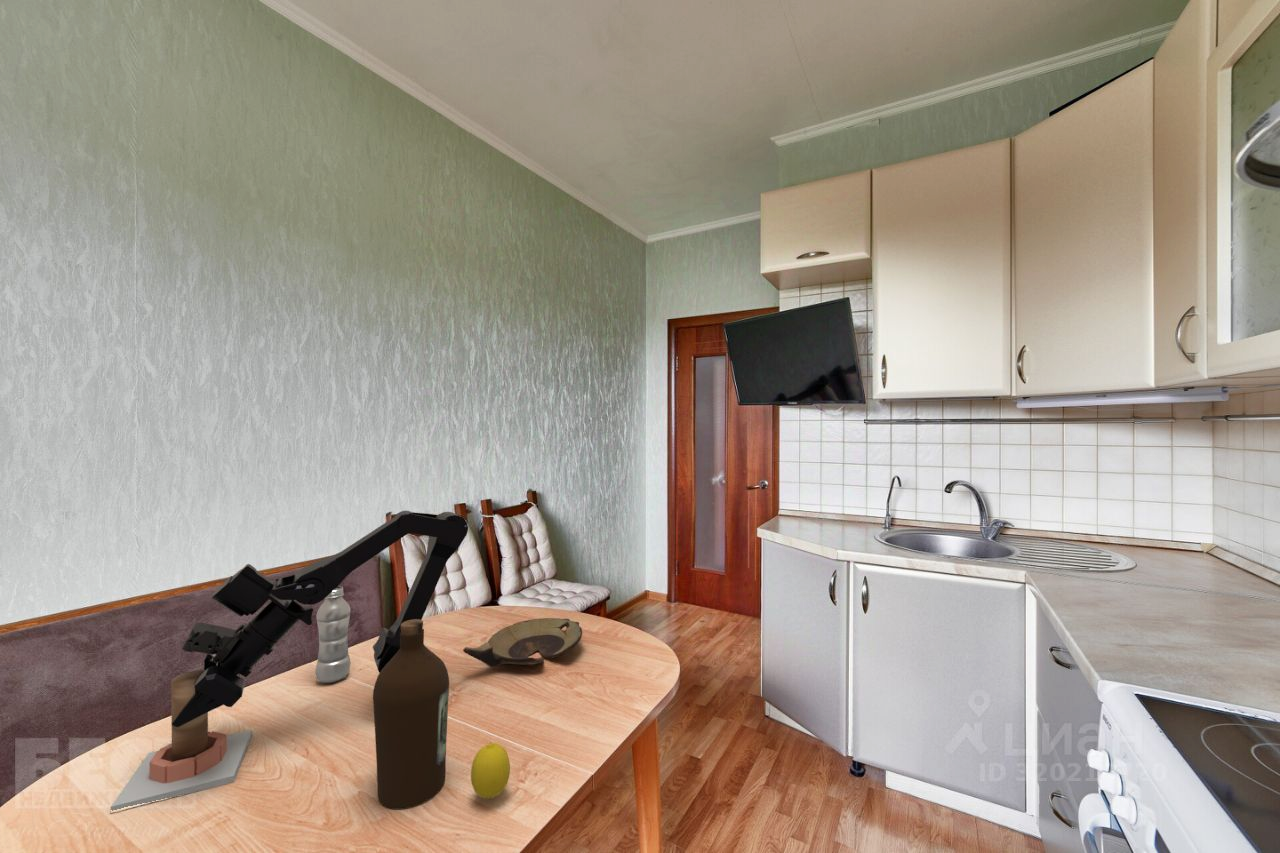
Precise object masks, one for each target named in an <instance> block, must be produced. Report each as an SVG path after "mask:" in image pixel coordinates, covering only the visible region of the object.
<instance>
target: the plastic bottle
mask: <svg viewBox="0 0 1280 853" xmlns="http://www.w3.org/2000/svg"><path fill="white" fill-rule="evenodd" d="M343 596H345V594H344V586H343V585H342V586H341V585H339V586H338V587H337V588H336V589H334V590H333V591H332V592H331V593H330V594H329V595H328V596H327V597H326V598H325V599H324V601H323V602H322V603H321V605H320V606H319V608H318V609H317V613H316V615H315V616H316V623H317V630H318V642H319V643H318V644H319V646H318V656H317V662H316V666H315V676H316V679H317V681H318V682H319V683H322V684H330V683H335V682H339V681H340V680H343V679H345V678H346V676H348V674H349V673H350V669H351V664H352V663H351V658H350V653H349V643H348V638H349V636H348V634H349V624H350V617H351V606H350V605H349V603H348V602H347V601H346V599H344V598H343Z"/></svg>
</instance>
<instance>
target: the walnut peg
mask: <svg viewBox="0 0 1280 853" xmlns="http://www.w3.org/2000/svg"><path fill="white" fill-rule="evenodd" d="M204 671H205V670H204V669H198V670H191V671H187V672H184V673H181V674H179V675H176V676H175V677H173V678H172V679H171V684H170V685H171V686H170V687H171V691H170V692H171V696H170V697H171V699H170V700H171V703H170V704H171V706H170V707H171V723H172V722H173V721H174V719H175V718H176V717H177V715H178V714H179V713H180V712H181V710H182V709H183V708H184V706H185V705H186V704H187V702H188V701H189V700H190V699H191V697H192V696H193V695H194V693H195V687H194V683H195V681H196V679H197V677H200V676H201V675H202V673H203V672H204ZM208 732H209V712H207V713H205V714H203V715H201V716H199V717H197V718H195V719H193V720H191V721H189V722H188V723H186V724H184V725H182V726H180V727H175V726H173V725H172V724H171V743H172V762H174V761H178V760H182V759H187V758H191V757H195V756H197V755H198V754H200V753H202V752H204V751H206V750H208Z"/></svg>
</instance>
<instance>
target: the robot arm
mask: <svg viewBox="0 0 1280 853" xmlns="http://www.w3.org/2000/svg"><path fill="white" fill-rule="evenodd" d="M468 531H469V526H468V523H467V521H466V520H465V518H463V517H462V516H461V515H458V514H457V513H454V512H452V511H444V512H441V513H439V514H434V513H426V512H424V513H423V512H412V511H410V510H402V511H399V512H398V513H396V515H395V516H394V517H392V518H390V519H389V520H388V521H386V522H385V523H383V524H381V525H379V526H378V527H377V528H375V529H374V530H372V531H371V532H369V533H368V534H366V535H365V536H363V537H362V538H361V537H360V538H359V540H357V541H356V542H354V543H353V544H351V545H349V546H347V547H346V548H345V549H342V550H341V551H340V552H338V553H334V554H333V555H331V556H327V557H323V558H322V559H319V560H317V561H315V562H313V563H311V564H308V565H305V566H303V567H301V568H300V569H299V570H298V571H297V572H296V573H295V574H291V575H287V576H282V577H279V578H275V579H273V580H271V579H269V578H268V577H267V576H265V575H264V574H262V573H261V572H259V571H258V570H257V568H256V567H254V566H253V565H252V564H250V563H247V564H246V565H245V566H243V567H242V568H241V569H239V571H237V572H236V573H235V574H234V575H230V576H229V577H228V578H227V579H226V580H225V581H224V582H223V583H221V585H219V587H217V588H216V590H214V592H212V594H211V595H210V596H209V598H210V599H211V600H213V601H214V602H216V603H218V604H219V605H220V606H222V607H225V608H226V609H227V610H229V611H231V612H232V613H234V615H235V614H236V615H237V616H238V617H239V618H240V617H241V618H242V617H243V616H244V615H245V616H247V617H248V616H253V615H254V614H256V612H258V611H259V610H260V609H261V608H262V607H263V606H264V605H265V604H266V603H267V602H268V601H269V602H268V603H267V604H266V605H265V606H264V607H263V608H262V609H261V610H260V611H259V612H258V613H257V614H256V615H255V616H254V617H253V618H251V619H250V621H249V622H248V623H247V622H245V623H243V624H242V623H241V624H240V625H239V626H238V627H237V628H236V629H232V628H228V627H227V626H226V627H225V626H221V625H215V624H210V623H205V622H195V624H194V626H193V627H192V629H191V631H190V632H189V633H188V636H187V638H186V640H185V642H184V643H183V645H182V646H181V650H182V651H185V652H187V653H192V652H196V653H203V654H206V655H205V657H204V661H203V670H205V671H204V672H203V673H202V675H201V676H200V677H197V679H196V681H195V683H194V687H195V693H194V695H193V696H192V697H191V699H190V700H189V701H188V702H187V704H186V705H185V706H184V708H183V709H182V710H181V712H180V713H179V714H178V715H177V717H176V718H175V719H174V721H173V722H172V721H171V726H172V725H173V726H175V727H180V726H182V725H184V724H186V723H188V722H189V721H191V720H193V719H195V718H197V717H199V716H201V715H203V714H205V713H207V712H208V713H209V712H211V711H213V710H215V709H218V708H219V707H220V708H221V707H222V706H225V707H227V708H232V707H233V706H234V705H235V704H236V703H237V702H238V701H239V700H240V699H241V698H242V697H243V693H244V689H245V679H244V678H248V676H249V675H250V674H251V673H252V671H253V668H254V666H255V665H256V664H257V663H258V662H259V661H260V660H261V659H262V658H263V657H264V656H269V655H270V654H271V653H272V652H273V651H274V646H275V645H276V644H277V643H278V642H279V641H280V640H281V639H282V638H283V637H284V636H285V635H286V634H287V633H288V632H289V631H290V629H292V628H293V627H294V626H295V625H296V624H297V623H298V622H299V621H301V622H302V623H304V624H305V625H308V626H311V625H312V624H313V612H314V605H316V604H318V603H320V602H322V601H323V600H325V598H326V597H327V596H328V595H329V594H330V593H331V592H332V591H333V590H334V589H336V588H337V587H338V586H341V583H343V581H344V580H345V579H346V578H347V577H348V576H349V575H350V574H351V573H352V572H354V571H355V570H356V569H358V568H360V566H362V565H363V564H365V563H367V562H368V561H369V560H371V559H372V558H375V557H376V556H377V555H379V554H380V553H381V552H383V551H385V550H386V549H387V548H389V547H390V546H392V545H394V544H395V543H397V542H398V541H399V540H401V539H403V537H405V536H406V535H408V534H414V535H415V534H416V535H420V536H426V537H428V541H427V547H426V548H427V549H426V553H425V555H424V557H423V560H422V562H421V565H420V567H419V570H418V571H417V573H416V577H415V579H414V580H413V583H412V585H411V588H410V589H409V591H408V593H407V596H406V599H405V600H404V602H403V604H402V608H401V610H400V612H399V614H398V616H397V618H396V620H395V621H394V623H393V624H392V625H391V626H390V627H389V628H386V627H381V628H380V632H379V636H378V639H377V640H376V642H375V643H374V644H373V645H372V649H373V659H374V662H375V665H376V668H377V671H378V674H379V673H380V672H381V670H382V669H383V668H384V667H385V665H386V664H387V663H388V662H389V661H390V660H391V659H392V658H393V656H394V655H395V654H396V653H397V652H398V651H399V649H400V632H401V623H403V622H405V621H408V620H413V619H419V620H422V621H423V617H424V616H425V613H426V611H427V608H428V606H429V603H430V601H431V600H432V597H433V594H434V592H435V590H436V587H437V585H438V583H439V580H440V579H441V576H442V574H443V572H444V569H445V567H446V565H447V562H448V560H449V559H450V558H451V557H452V556H453V555H454V554H455V552H457V550H458V549H459V548H460V546H461V544H462V543H463V541H464V540H465V538H466V537H467V534H468ZM304 605H309V606H304ZM238 675H241V676H242V677H244V678H242V677H240V676H238Z"/></svg>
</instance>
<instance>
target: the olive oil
mask: <svg viewBox="0 0 1280 853" xmlns="http://www.w3.org/2000/svg"><path fill="white" fill-rule="evenodd" d="M424 632H425V629H424V620H423V619H422V620H419V619H413V620H408V621H405V622H403V623H401V632H400V649H399V651H398V652H397V653H396V654H395V655H394V656H393V658H392V659H391V660H390V661H389V662H388V663H387V664H386V665H385V667H384V668H383V669H382V670H381V672H380V673H379V672H378V675H377V678H376V681H375V682H374V686H373V690H372V704H373V719H374V720H373V722H374V736H375V737H374V740H375V756H376V757H375V758H376V781H377V782H376V783H377V785H376V788H377V790H376V791H377V799H378V802H379V803H380V804H381V806H383V807H386V808H388V809H392V810H402V809H409V808H413V807H416V806H419V805H422V804H423V803H426V802H427V801H429V800H430V799H433V797H435V796H436V795H437V794H438V793H439V792H440V791H441V790H442V789H443V786H444V784H445V782H446V769H447V768H446V767H447V766H446V765H447V764H446V757H447V738H448V737H447V736H448V734H447V733H448V715H449V700H450V699H449V696H450V695H449V694H450V676H449V672H448V669H447V667H446V664H445V662H444V661H443V660H442V658H440V657H439V656H438V655H437V654H436V653H434V652H433V651H432V650H431V649H430V648H428V647H427V646H426V645H425V643H424V642H425V641H424V640H425V638H424V637H425V633H424Z"/></svg>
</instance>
